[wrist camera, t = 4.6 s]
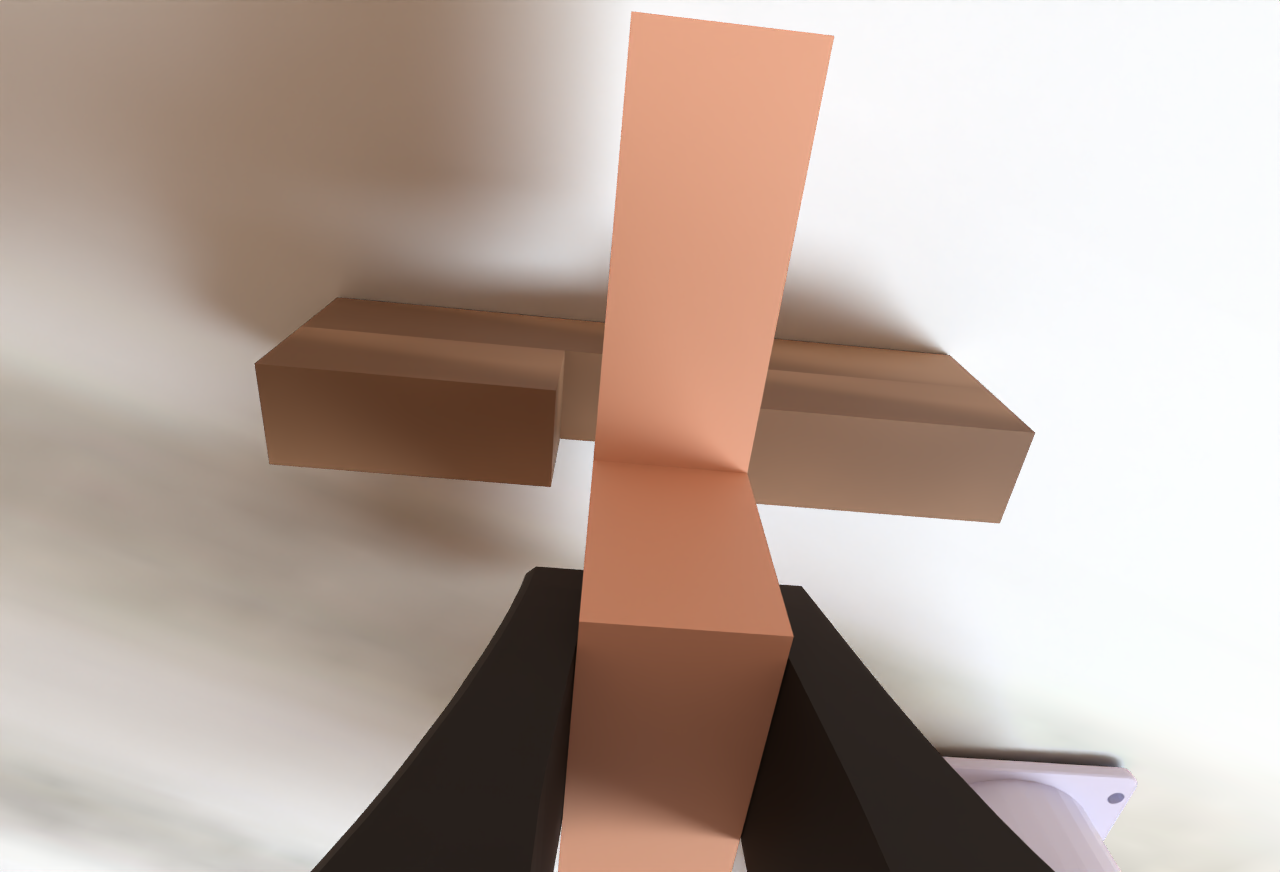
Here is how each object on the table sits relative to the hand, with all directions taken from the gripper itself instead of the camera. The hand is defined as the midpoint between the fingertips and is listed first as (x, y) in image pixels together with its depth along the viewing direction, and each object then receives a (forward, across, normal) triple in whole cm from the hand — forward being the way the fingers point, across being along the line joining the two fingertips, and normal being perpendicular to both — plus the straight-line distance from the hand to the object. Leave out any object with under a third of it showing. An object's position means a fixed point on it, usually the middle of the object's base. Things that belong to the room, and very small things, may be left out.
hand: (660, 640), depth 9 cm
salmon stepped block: (+5, 0, 0) cm, 5 cm away
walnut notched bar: (+9, 0, 0) cm, 9 cm away
